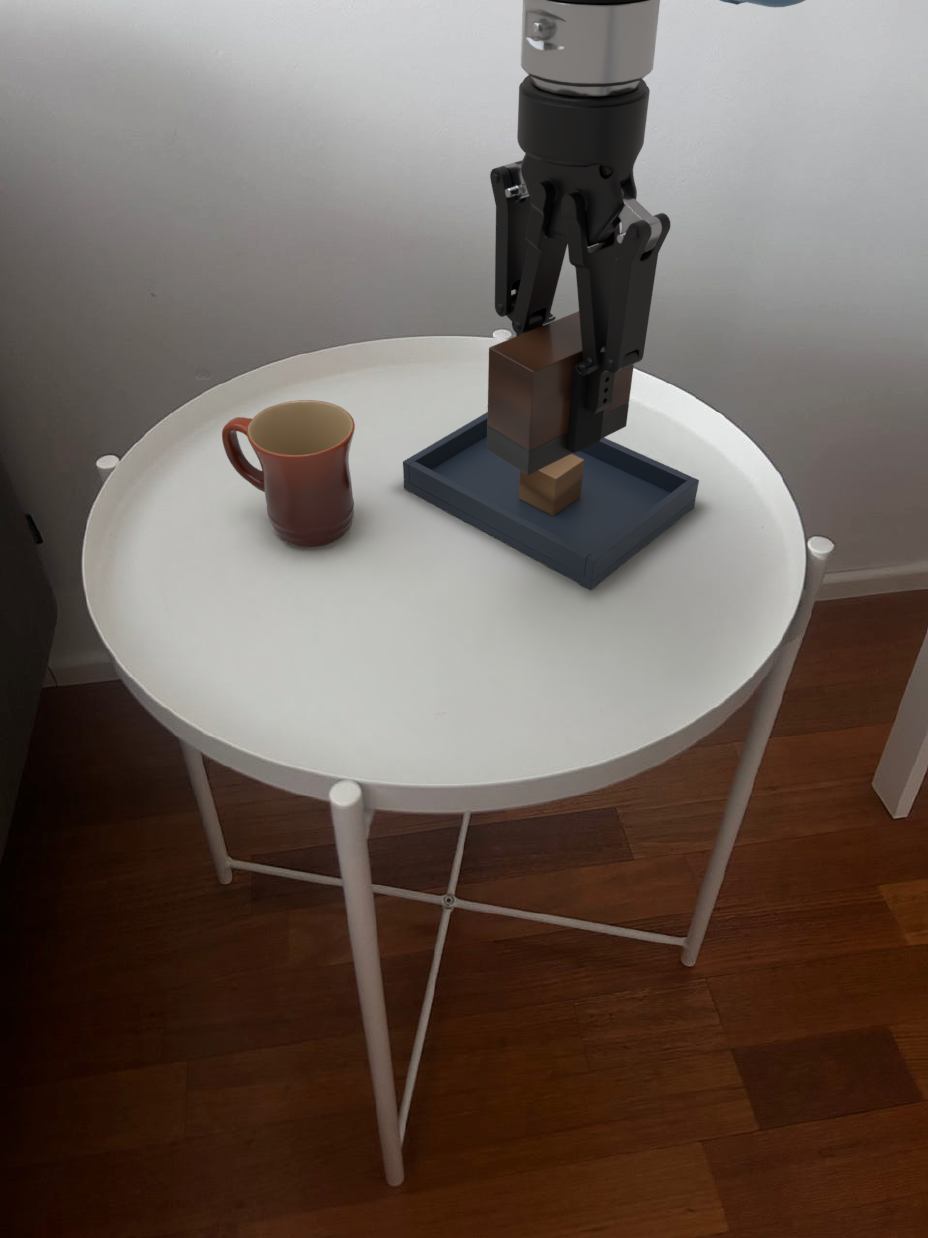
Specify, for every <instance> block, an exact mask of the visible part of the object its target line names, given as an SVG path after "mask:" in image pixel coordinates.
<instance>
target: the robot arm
mask: <svg viewBox="0 0 928 1238" xmlns="http://www.w3.org/2000/svg"><path fill="white" fill-rule="evenodd" d="M805 1H806V0H719V2H722V3H728V4H732V5H736V6H738V5H740V4H744V3H748V4H753V5H757V6H763V7H767V8H786V7H791V6H796V5H798V4H801V3H803V2H805ZM660 5H661V0H522V11H521V12H522V14H521V39H520V40H521V42H520V43H521V44H520V67H521V68H522V69H523V71H524V72H525V73H526V74H527V76H526V77H524V79H523V80H522V81H521V83H520V84H519V86H518V107H517V109H518V110H517V137H516V138H517V143H518V146H519V148H520V149H521V151H522V152H523V153H525V154H524V156H523V158H522V159H521V160H518V161H515V162H511V163H507V164H504V165H501V166H497V167H494V168H493V169H491V171H490V174H489V178H490V183H491V190H492V194H493V199H494V203H495V244H494V245H495V252H494V253H495V255H494V256H495V257H494V259H495V260H494V311H495V313H496V315H498V316H499V317H501V318H503V317H507V318H508V319H509V321H510V322H511V327H512V330H513V332H514V333H515V337H516V336H519V335H521V334H524V333H526V332H528V331H531V330H533V329H536V328H538V327H541V326H543V325H546V324H548V323H551V322H553V321H556V319H557V318H556V316H554V314H552V313H551V312H552V308H553V303H554V299H555V295H556V291H557V287H558V283H559V279H560V275H561V272H562V269H563V264H564V259H565V255H566V252H567V250H568V262H569V264H570V265H572V266H573V267H574V268H575V277H576V291H577V302H578V311H579V316H580V328H581V340H582V353H583V362H581V363H579V364H577V365H575V366H573V378H572V390H571V402H570V414H569V426H568V438H567V450H569V451H571V452H572V453H576V452H578V451H580V450H582V449H584V448H586V447H588V446H590V445H592V444H594V443H596V442H598V441H600V440H601V432H602V423H603V413H604V409H606V408H608V407H609V406H610V404H611V402H612V394H613V386H614V377H615V373H616V372H618V371H620V370H622V369H624V368H627V367H629V366H631V365H633V364H634V365H636V364H638V363H639V362H642V361H643V358H644V353H645V346H646V340H647V332H648V327H649V320H650V312H651V304H652V298H653V293H654V287H655V279H656V272H657V265H658V259H659V258H658V257H659V252H660V250H661V248H662V246H663V244H664V242H665V240H666V239H667V236H668V235H669V232H670V230H671V220H670V217H669V216H668V215H667V214H666V213H664V212H660V213H657V214H654V215H652V214H651V213H650V212H649V211H648V210H647V209H646V208H645V207H644V206H643V205H642V204H641V203H640V202H639V201H637V196H638V191H637V186H636V183H635V176H634V168H635V167H634V166H635V163H636V161H637V158H638V157H639V155H640V152H641V150H642V149H643V146H644V143H645V137H646V136H645V135H646V127H647V119H648V118H647V117H648V108H649V101H650V93H651V90H650V87H649V86H648V85H647V82H646V81H645V80H644V78H645V77H647V75H649V74H650V73H652V71H653V70H654V63H655V62H654V61H655V55H656V54H655V53H656V43H657V33H658V24H659V14H660ZM620 225H621V227H620ZM512 291H515V292H514V293H512Z"/></svg>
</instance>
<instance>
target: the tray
mask: <svg viewBox="0 0 928 1238" xmlns="http://www.w3.org/2000/svg"><path fill="white" fill-rule="evenodd" d="M487 419H488V411H486V412H485V413H483V414H481V415H480V416H478V417H476V418H474V419H472V420H471V421H469V422H467V423H466V424H464V425H462V426H461V427H459V428H457V429H456V430H454V431H452V432H451V433H449V434H447V435H446V436H444V437H442V438H441V439H439V440H437V441H435V442H434V443H432V444H430V445H428V446H427V447H425V448H423V449H421V450H420V451H418V452H417V453H415V454H413V455H412V456H410V457H408V458H406V459H405V460H403V461H402V473H403V474H402V475H403V489H404V490H406V491H408V492H409V493H411V494H413V495H415V496H417V497H419V498H421V499H423V500H425V501H426V502H428V503H430V504H431V505H434V506H435V507H437V508H440V509H441V510H442V511H445V512H447V513H448V514H451V515H452V516H453V517H456V518H458V519H459V520H462V521H463V522H465V523H467V524H469V525H470V526H472V527H474V528H476V529H478V530H480V531H482V532H483V533H485V534H487V535H489V536H491V537H493V538H495V540H498V541H500V542H502V543H504V544H506V545H507V546H509V547H511V548H513V549H515V550H517V551H518V552H520V553H522V554H524V555H525V556H527V557H529V558H531V559H533V560H535V561H537V562H539V563H541V564H542V565H544V566H546V567H547V568H550V569H551V570H554V571H555V572H557V573H559V574H560V575H562V576H564V577H566V578H568V579H570V580H571V581H574V582H575V583H577V584H579V585H581V586H582V587H584V588H587V589H588V590H590V591H592V590H593V589H594V588H596V586H598V585H599V584H600V583H602V582H603V581H604V580H605V579H606V578H608V577H609V576H610V575H612V574H613V573H614V572H615V571H617V570H618V569H619V568H620V567H621V566H623V565H624V564H626V563H627V562H628V561H629V560H630V559H632V558H633V557H634V556H635V555H637V554H638V553H639V552H640V551H642V550H643V549H644V548H645V547H647V545H649V544H651V543H652V542H653V541H654V540H655V539H657V538H658V537H659V536H660V535H661V534H663V533H664V532H665V531H666V530H668V529H669V528H671V526H673V525H675V523H676V522H678V521H679V520H680V519H681V518H683V517H685V515H686V514H688V513H689V512H690V511H692V510H693V509H694V508H695V504H696V499H697V494H698V490H699V483H700V479H698V478H695V477H693V476H691V475H689V474H686V473H684V472H683V471H681V470H678V469H676V468H674V467H671V466H669V465H667V464H664V463H662V462H660V461H658V460H655V459H653V458H651V457H649V456H647V455H644V454H642V453H639V452H637V451H636V450H633V449H631V448H628V447H626V446H624V445H622V444H619V443H618V442H615V441H612V440H610V439H608V438H606V437H604V438H602V439H601V440H600V441H598V442H596V443H594V444H592V445H590V446H588V447H586V448H584V449H582V450H580V451H578V452H576V453H572V454H573V455H575V456H577V457H579V458H581V459H584V467H583V477H582V487H581V497H580V498H578V499H577V500H575V501H574V502H573V503H571V504H570V505H568V506H567V507H566V508H564V509H563V510H561V511H560V512H559V513H557V514H556V515H554V516H552V515H550V514H548V513H546V512H544V511H542V510H540V509H538V508H536V507H534V506H532V505H531V504H529V503H527V502H525V501H523V500H521V499H519V485H520V470H519V469H517V468H516V467H514V466H512V465H511V464H509V463H508V462H506V461H505V460H503V459H501V458H500V457H498V456H497V455H495V454H494V453H492V452H491V451H489V450H487V425H488V424H487Z"/></svg>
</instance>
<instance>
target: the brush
mask: <svg viewBox="0 0 928 1238" xmlns="http://www.w3.org/2000/svg"><path fill="white" fill-rule="evenodd" d="M581 362H583V353H582V340H581V328H580V316H579V310H578V311H575V312H573V313H570V314H568V315H565V316H563V317H561V318H558V319H555V320H554V321H552V322H550V323H547V324H545V325H543V326H541V327H538V328H536V329H533V330H531V331H528V332H526V333H524V334H521V335H519V336H516V335H515V336H514V337H511V338H509V339H506V340H504V341H502V342H499V343H497V344H493V345H491V346H490V347H489V348H488V369H487V370H488V373H487V375H488V378H487V386H488V387H487V412H488V419H487V424H488V425H487V450H489V451H491V452H492V453H494V454H495V455H497V456H498V457H500V458H501V459H503V460H505V461H506V462H508V463H509V464H511V465H512V466H514V467H516V468H517V469H519V470H520V471H522V472H523V473H525V474H527V475H530V474H532V473H534V472H536V471H538V470H540V469H542V468H544V467H546V466H548V465H550V464H552V463H554V462H556V461H558V460H560V459H562V458H564V457H566V456H568V455H570V454H572V452H571V451H569V450H567V438H568V426H569V414H570V402H571V390H572V378H573V366H575V365H577V364H579V363H581ZM634 366H635V364H633V365H631V366H629V367H627V368H624V369H622V370H620V371H618V372H616V373H615V377H614V386H613V394H612V402H611V404H610V406H609V407H608V408H606V409H604V413H603V423H602V432H601V439H602V438H606V437H608V436H610V435H612V434H614V433H616V432H618V431H620V430H622V429H624V428H626V427H627V423H628V415H629V407H630V398H631V390H632V382H633V375H634Z"/></svg>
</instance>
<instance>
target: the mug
mask: <svg viewBox="0 0 928 1238" xmlns="http://www.w3.org/2000/svg"><path fill="white" fill-rule="evenodd" d="M355 427H356V424H355V419H354V418H353V417H352V414H351V413H350V412H349V411H348V410H346V409H344V408H343V407H341V406H339V405H337V404H334V403H331V402H329V401H324V400H323V401H322V400H314V399H299V400H298V399H297V400H290V401H285V402H280V403H278V404H277V403H276V404H274V405H271V406H269V407H267V408H264V409H262V410H261V411H260V412H258V413H257V414H256V415H255V416H253V418H251V417H250V418H249V417H243V416H239V417H238V416H237V417H234V418H232V419H230V420H229V421H228V422H227V423H226V424H225V425H224V426H223V428H222V430H221V440H222V445H223V449H224V452H225V454H226V457H227V459H228V461H229V463H230V464H231V466H232V468H233V469H234V470H235V471H236V472H237V473H238V474H239V475H240V476H241V477H242V479H244V480H245V481H246V482H248V483H249V484H251V485H252V486H253V487H254V488H255V489H257V490H258V491H260V492H263V493H264V496H265V502H266V504H265V505H266V512H267V516H268V518H269V522H270V525H271V526H272V529H273V532H274V533H275V535H276V536H277V538H279V539H280V540H282V541H283V542H285V543H287V544H289V545H292V546H296V547H301V548H310V549H311V548H320V547H324V546H327V545H331V544H332V543H334V542H337V541H338V540H340V539H341V538H343V537H344V536H345V535H346V534H347V533H348V532H349V531H350V529H351V526H352V524H353V518H354V511H355V510H354V509H355V508H354V507H355V499H354V494H353V483H352V475H351V470H350V450H351V445H352V441H353V438H354V434H355V429H356V428H355ZM237 432H240V433H242V434H244V435H245V436H246V437H247V440H248V442H249V444H250V446H251V448H252V450H253V451H254V453H255V455H256V458H257V460H258V461H259V464H260V467H261V469H258V468H257V467H255V466H254V465H253V464H252V463H251V462H249V460H248V459H247V458H246V456H245V454H244V451H243V450H242V448H241V444H240V441H239V438H238V433H237Z"/></svg>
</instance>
